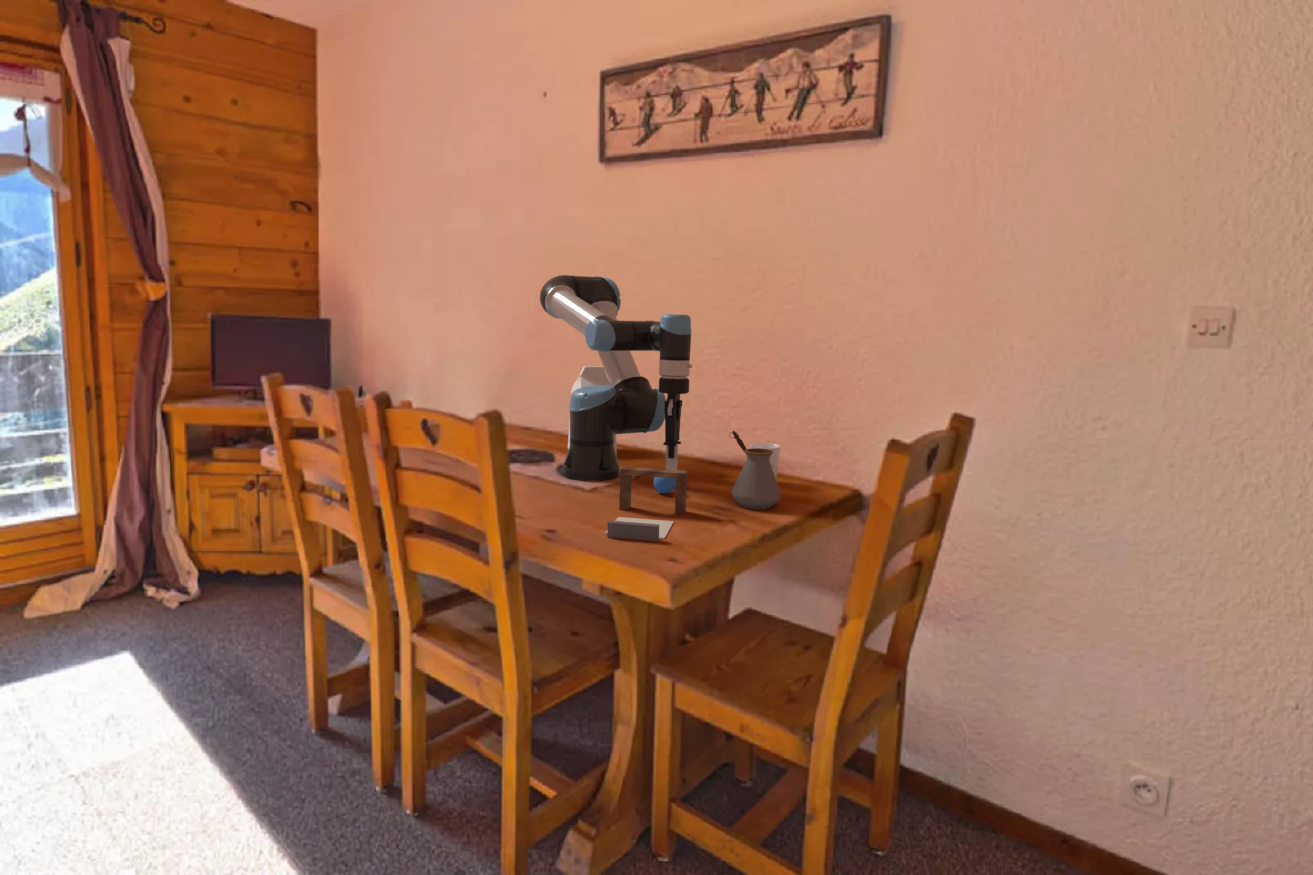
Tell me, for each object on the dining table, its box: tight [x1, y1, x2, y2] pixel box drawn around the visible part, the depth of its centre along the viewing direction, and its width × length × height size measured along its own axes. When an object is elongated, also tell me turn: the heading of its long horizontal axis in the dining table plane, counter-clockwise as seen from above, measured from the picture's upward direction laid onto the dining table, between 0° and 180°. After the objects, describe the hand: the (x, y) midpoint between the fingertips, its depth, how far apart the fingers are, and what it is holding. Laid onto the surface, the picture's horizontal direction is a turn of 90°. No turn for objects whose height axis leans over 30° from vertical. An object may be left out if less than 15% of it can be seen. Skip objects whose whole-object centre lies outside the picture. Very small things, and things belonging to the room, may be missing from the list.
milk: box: [567, 366, 618, 455], centre depth 233 cm, size 12×12×26 cm
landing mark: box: [604, 516, 675, 540], centre depth 157 cm, size 12×12×1 cm
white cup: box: [749, 442, 781, 479], centre depth 200 cm, size 8×8×10 cm
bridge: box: [618, 465, 688, 516], centre depth 170 cm, size 14×3×9 cm, turn 80°
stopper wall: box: [606, 520, 660, 542], centre depth 150 cm, size 10×2×3 cm, turn 80°
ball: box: [653, 477, 676, 495], centre depth 186 cm, size 6×6×6 cm
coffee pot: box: [728, 430, 782, 510], centre depth 182 cm, size 21×12×15 cm, turn 17°
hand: (671, 470), depth 194 cm, fingers closed
